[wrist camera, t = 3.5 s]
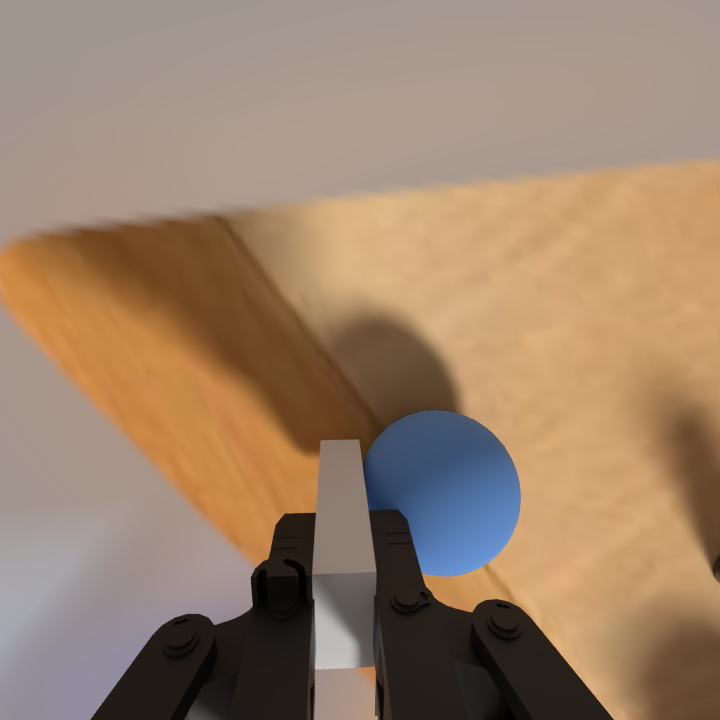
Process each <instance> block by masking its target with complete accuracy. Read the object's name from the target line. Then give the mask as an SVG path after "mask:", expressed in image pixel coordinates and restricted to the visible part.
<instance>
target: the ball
mask: <svg viewBox="0 0 720 720" xmlns="http://www.w3.org/2000/svg"><path fill="white" fill-rule="evenodd" d="M363 473H364V481H365V488H366V496H367V503H368V510H391V509H398V510H399V511H400V512H401V513H402V514H403V515H404V517H405V518H406V519H407V520H408V524H409V528H410V531H411V535H412V539H413V544H414V546H415V550H416V554H417V557H418V561H419V565H420V569H421V572H422V573H424V574H427V575H433V576H456V575H461V574H465V573H468V572H471V571H473V570H476V569H478V568H480V567H482V566H483V565H485V564H486V563H488V562H489V561H491V560H492V559H493V558H494V557H496V556H497V555H498V554H499V553H500V551H501V550H502V549H503V548H504V547H505V545H506V544H507V543H508V541H509V539H510V538H511V536H512V533H513V531H514V529H515V527H516V524H517V521H518V517H519V512H520V502H521V493H520V484H519V479H518V474H517V471H516V468H515V466H514V463H513V461H512V459H511V457H510V455H509V454H508V452H507V450H506V449H505V447H504V445H503V444H502V443H501V442H500V441H499V439H498V438H497V437H496V436H495V435H494V434H493V433H492V432H491V431H490V430H488V429H487V428H486V427H484V426H483V425H482V424H480V423H479V422H477V421H475V420H473V419H471V418H469V417H467V416H464V415H462V414H459V413H455V412H450V411H443V410H428V411H421V412H417V413H413V414H410V415H407V416H405V417H403V418H401V419H399V420H397V421H395V422H394V423H392V424H391V425H389V426H388V427H387V428H386V429H385V430H384V431H383V432H382V433H381V434H380V435H379V436H378V437H377V438H376V440H375V441H374V442H373V444H372V445H371V447H370V449H369V450H368V452H367V454H366V457H365V459H364V462H363Z"/></svg>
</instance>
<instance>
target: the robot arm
mask: <svg viewBox="0 0 720 720" xmlns="http://www.w3.org/2000/svg"><path fill="white" fill-rule="evenodd" d="M251 588H252V601H253V607H252V608H251V609H250V610H249V611H247V612H246V613H244V614H243V615H241V616H239V617H237V618H235V619H232V620H229V621H227V622H223V623H220V624H217V625H214V624H213V623H212V622H211V620H210V619H209V618H208V617H205V616H203V615H200V614H186V615H182V616H179V617H176V618H174V619H172V620H170V621H168V622H167V623H165V624H164V625H162V626H161V627H160V628H159V629H158V630H157V631H156V632H155V633H154V634H153V635H152V637H151V638H150V640H149V641H148V642H147V643H146V645H145V646H144V648H143V649H142V650H141V652H140V653H139V654H138V656H137V657H136V658H135V660H134V661H133V662H132V664H131V665H130V667H129V668H128V669H127V671H126V672H125V673H124V675H123V676H122V677H121V679H120V680H119V681H118V683H117V684H116V686H115V687H114V688H113V690H112V691H111V692H110V694H109V695H108V697H107V698H106V699H105V701H104V702H103V703H102V705H101V706H100V707H99V709H98V710H97V711H96V713H95V714H94V716H93V717H92V718H91V720H314V705H315V670H317V669H336V668H357V667H374V660H375V670H376V693H375V716H378V720H614V719H613V718H612V717H611V716H610V714H609V713H608V712H607V711H606V709H605V708H604V707H603V706H602V705H601V703H600V702H599V701H598V700H597V698H596V697H595V696H594V695H593V693H592V692H591V691H590V690H589V689H588V687H587V686H586V685H585V684H584V682H583V681H582V680H581V679H580V678H579V676H578V675H577V674H576V673H575V671H574V670H573V669H572V668H571V667H570V665H569V664H568V663H567V662H566V660H565V659H564V658H563V657H562V656H561V654H560V653H559V652H558V651H557V649H556V648H555V647H554V646H553V644H552V643H551V642H550V641H549V640H548V638H547V637H546V636H545V635H544V633H543V632H542V631H541V630H540V629H539V627H538V626H537V625H536V624H535V622H534V621H533V620H532V619H531V618H530V616H529V615H527V614H526V613H525V612H524V611H523V610H522V609H521V608H519V607H518V606H516V605H514V604H512V603H510V602H507V601H503V600H498V599H493V600H485V601H483V602H481V603H479V604H478V605H477V606H476V608H475V609H474V611H473V613H472V612H467V611H463V610H459V609H455V608H452V607H449V606H446V605H445V604H443V603H441V602H439V601H438V600H437V599H435V598H434V596H433V594H432V593H431V591H430V590H429V589H428V588H426V586H425V583H424V580H423V576H422V572H421V569H420V565H419V561H418V557H417V554H416V550H415V546H414V544H413V539H412V535H411V531H410V528H409V524H408V520H407V519H406V518H405V517H404V515H403V514H402V513H401V512H400V511H399V510H398V509H391V510H368V503H367V496H366V488H365V481H364V473H363V465H362V458H361V450H360V443H359V439H358V440H321V444H320V460H319V475H318V491H317V506H316V513H293V514H284V515H283V517H282V518H281V519H280V520H279V521H278V523H277V524H276V526H275V531H274V536H273V540H272V545H271V551H270V555H269V559H268V560H265V561H263V562H262V563H261V564H260V565H259V566H258V567H257V568H255V570H254V572H253V574H252V576H251Z"/></svg>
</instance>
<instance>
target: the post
mask: <svg viewBox="0 0 720 720" xmlns="http://www.w3.org/2000/svg"><path fill="white" fill-rule="evenodd" d="M714 576H715V578H716V580H717V581H718V582H719V583H720V557H719V558H718V560H717V562H716V564H715V567H714Z"/></svg>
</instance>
